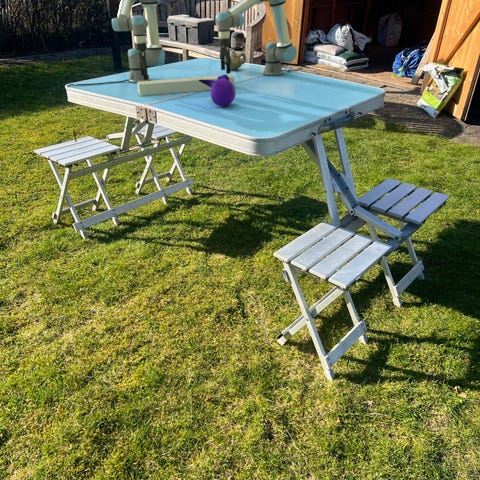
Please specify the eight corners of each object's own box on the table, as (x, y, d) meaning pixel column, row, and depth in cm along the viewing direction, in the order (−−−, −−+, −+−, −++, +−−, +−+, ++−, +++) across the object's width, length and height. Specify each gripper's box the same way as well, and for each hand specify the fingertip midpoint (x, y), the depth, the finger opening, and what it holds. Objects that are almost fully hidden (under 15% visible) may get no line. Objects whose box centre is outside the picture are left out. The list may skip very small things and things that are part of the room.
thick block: (140, 96, 296) (138, 84, 292) (138, 93, 304) (137, 81, 300) (234, 88, 312) (234, 77, 308) (230, 85, 320) (230, 74, 316)
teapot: (226, 72, 363) (226, 52, 355) (220, 70, 372) (219, 50, 364) (249, 69, 372) (249, 50, 365) (242, 67, 381) (241, 48, 373)
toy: (221, 97, 287) (235, 112, 266) (195, 92, 280) (207, 107, 259) (227, 72, 279) (242, 85, 258) (201, 67, 272) (213, 80, 251)
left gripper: (149, 45, 276) (153, 81, 287) (144, 39, 296) (148, 73, 307) (136, 46, 274) (141, 82, 285) (132, 40, 294) (137, 74, 305)
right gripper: (235, 39, 289) (236, 74, 300) (224, 35, 310) (226, 68, 321) (223, 40, 287) (225, 75, 298) (214, 36, 308) (216, 68, 319)
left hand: (144, 77), depth 296 cm, fingers open, 13 cm apart
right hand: (225, 71), depth 309 cm, fingers open, 13 cm apart
